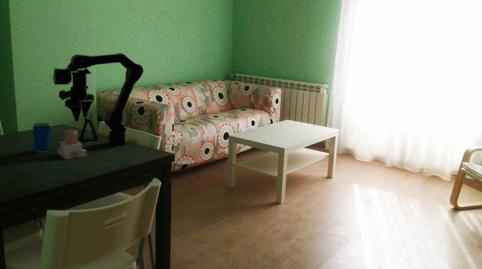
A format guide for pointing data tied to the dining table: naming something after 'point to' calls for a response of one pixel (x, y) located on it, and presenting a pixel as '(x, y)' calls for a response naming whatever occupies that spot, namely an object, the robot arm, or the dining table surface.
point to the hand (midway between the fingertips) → (80, 119)
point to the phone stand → (93, 128)
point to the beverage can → (41, 137)
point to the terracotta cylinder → (71, 137)
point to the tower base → (72, 153)
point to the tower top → (71, 147)
